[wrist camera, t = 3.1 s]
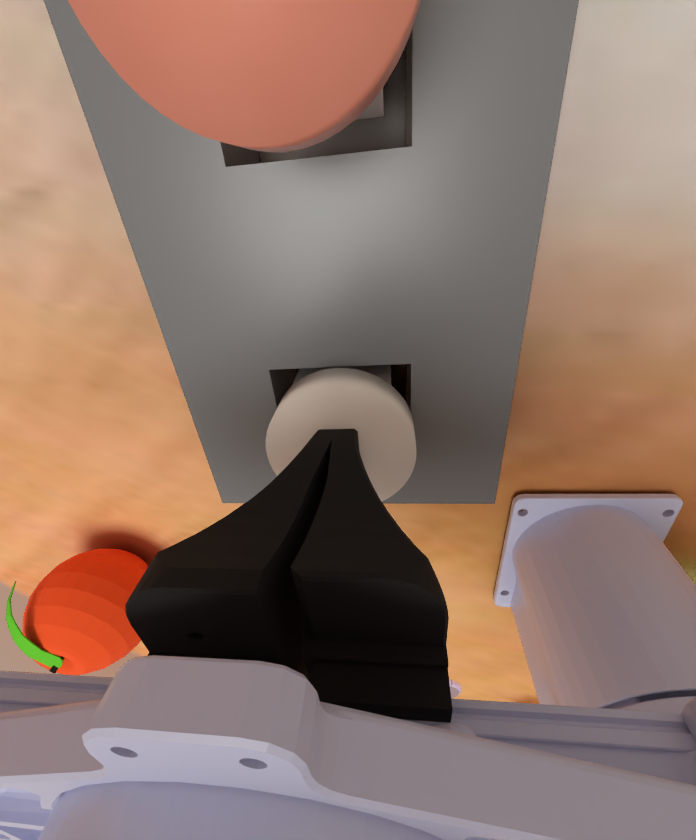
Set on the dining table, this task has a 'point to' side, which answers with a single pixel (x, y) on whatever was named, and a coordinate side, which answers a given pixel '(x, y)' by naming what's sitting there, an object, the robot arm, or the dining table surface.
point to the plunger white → (348, 421)
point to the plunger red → (254, 62)
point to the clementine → (81, 613)
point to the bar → (351, 243)
